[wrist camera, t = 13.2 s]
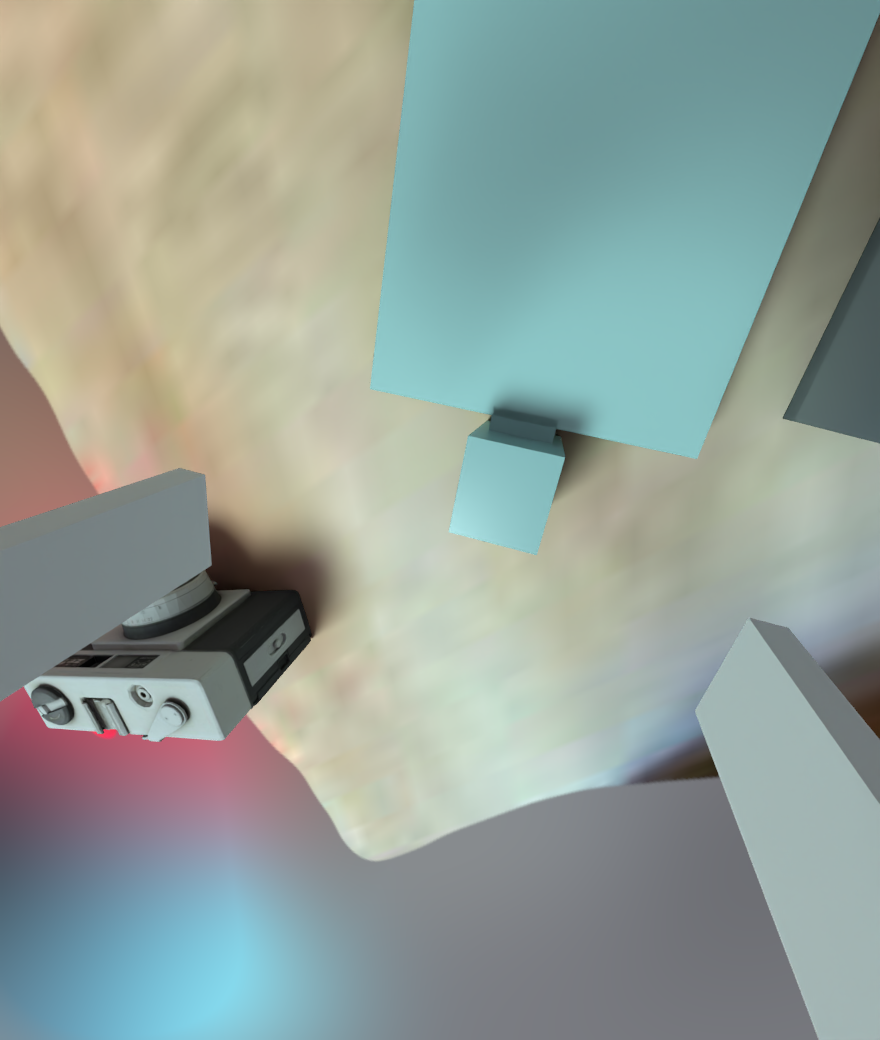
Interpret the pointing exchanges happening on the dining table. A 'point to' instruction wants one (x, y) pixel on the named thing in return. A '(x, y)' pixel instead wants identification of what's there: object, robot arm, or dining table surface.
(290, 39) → the dining table surface
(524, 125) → the lid
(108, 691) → the camera
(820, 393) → the tub
